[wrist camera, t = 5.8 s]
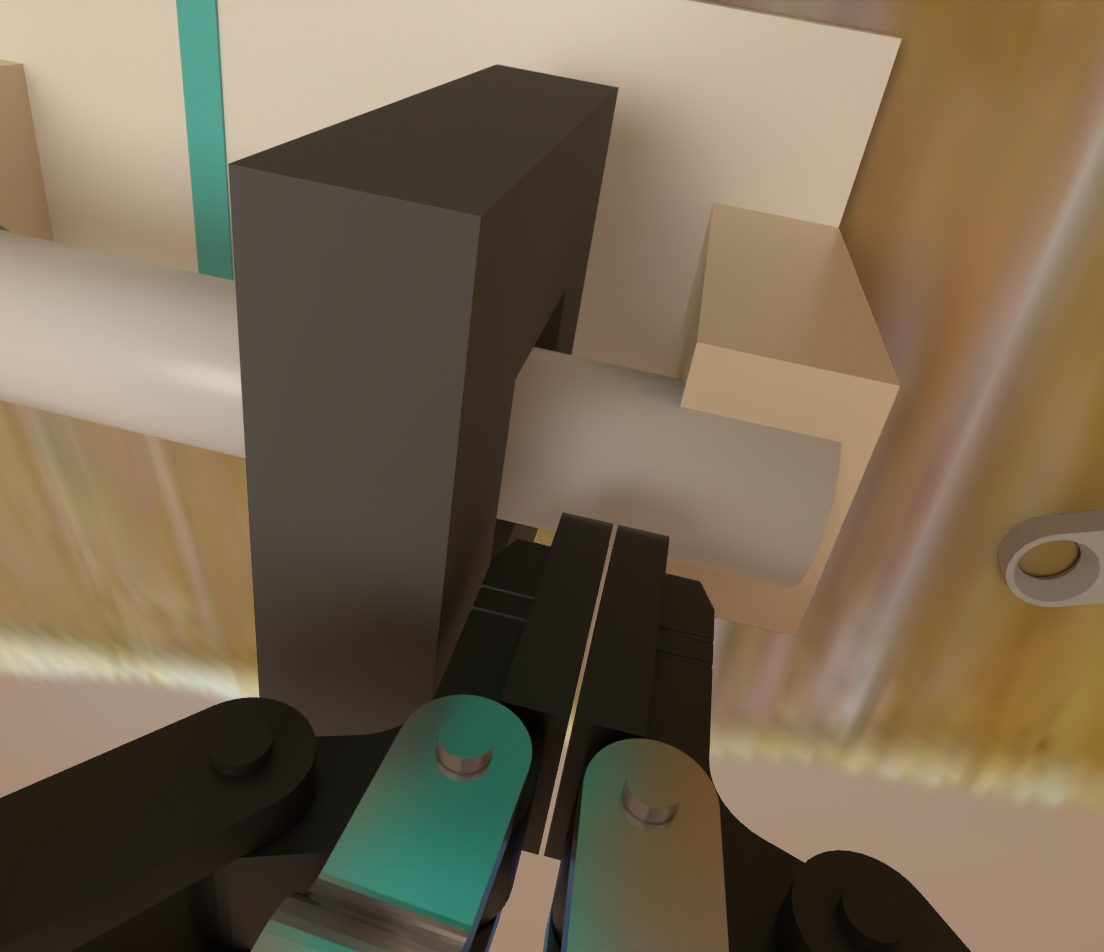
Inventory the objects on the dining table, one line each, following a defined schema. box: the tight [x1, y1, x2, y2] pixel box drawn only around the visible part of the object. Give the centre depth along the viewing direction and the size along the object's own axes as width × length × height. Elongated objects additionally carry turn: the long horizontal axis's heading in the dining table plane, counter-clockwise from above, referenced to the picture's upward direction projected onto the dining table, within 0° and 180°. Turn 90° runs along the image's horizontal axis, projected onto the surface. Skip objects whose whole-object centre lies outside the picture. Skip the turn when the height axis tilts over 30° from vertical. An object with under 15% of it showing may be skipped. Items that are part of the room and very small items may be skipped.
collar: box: [228, 64, 619, 736], centre depth 14 cm, size 2×10×10 cm, turn 171°
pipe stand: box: [0, 0, 902, 637], centre depth 18 cm, size 24×13×12 cm, turn 81°
